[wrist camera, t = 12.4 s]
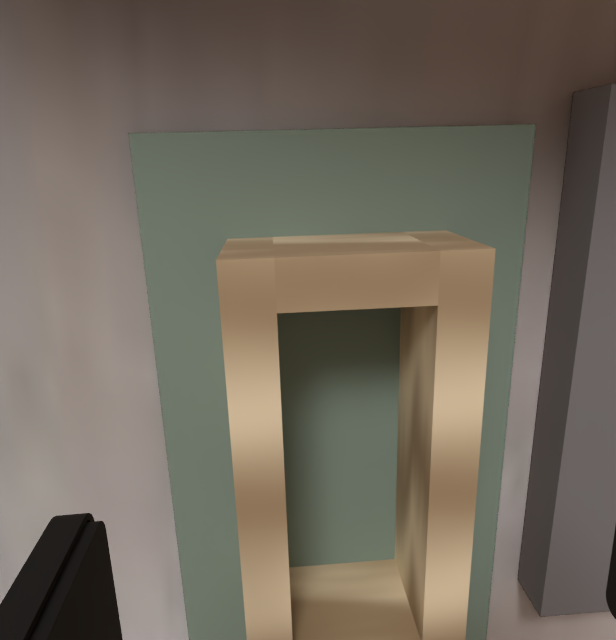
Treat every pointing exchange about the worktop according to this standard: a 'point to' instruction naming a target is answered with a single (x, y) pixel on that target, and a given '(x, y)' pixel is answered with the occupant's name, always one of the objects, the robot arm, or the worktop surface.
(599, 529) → the post stand
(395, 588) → the beech link
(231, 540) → the rubber mat
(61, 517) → the robot arm
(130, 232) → the worktop surface
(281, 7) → the worktop surface
